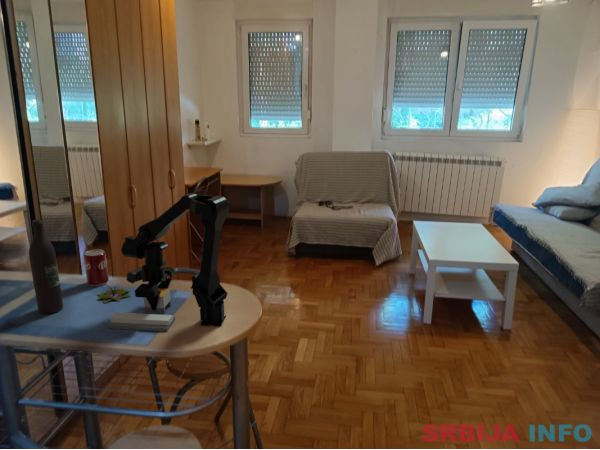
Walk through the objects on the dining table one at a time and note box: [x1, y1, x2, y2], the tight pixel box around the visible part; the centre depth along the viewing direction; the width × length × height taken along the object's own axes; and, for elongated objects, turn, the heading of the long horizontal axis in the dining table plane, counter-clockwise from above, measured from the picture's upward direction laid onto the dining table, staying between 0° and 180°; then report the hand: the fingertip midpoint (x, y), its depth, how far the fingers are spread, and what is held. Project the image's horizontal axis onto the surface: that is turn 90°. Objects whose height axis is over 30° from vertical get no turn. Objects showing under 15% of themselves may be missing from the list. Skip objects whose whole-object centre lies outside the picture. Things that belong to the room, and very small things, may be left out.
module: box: [142, 288, 172, 315], centre depth 141 cm, size 6×6×6 cm
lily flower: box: [96, 282, 131, 304], centre depth 151 cm, size 12×12×5 cm
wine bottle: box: [28, 219, 64, 315], centre depth 136 cm, size 7×7×30 cm
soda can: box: [83, 249, 110, 287], centre depth 160 cm, size 7×7×12 cm
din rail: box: [107, 312, 176, 332], centre depth 132 cm, size 18×7×2 cm, turn 86°
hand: (158, 305), depth 142 cm, fingers closed on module, 6 cm apart
